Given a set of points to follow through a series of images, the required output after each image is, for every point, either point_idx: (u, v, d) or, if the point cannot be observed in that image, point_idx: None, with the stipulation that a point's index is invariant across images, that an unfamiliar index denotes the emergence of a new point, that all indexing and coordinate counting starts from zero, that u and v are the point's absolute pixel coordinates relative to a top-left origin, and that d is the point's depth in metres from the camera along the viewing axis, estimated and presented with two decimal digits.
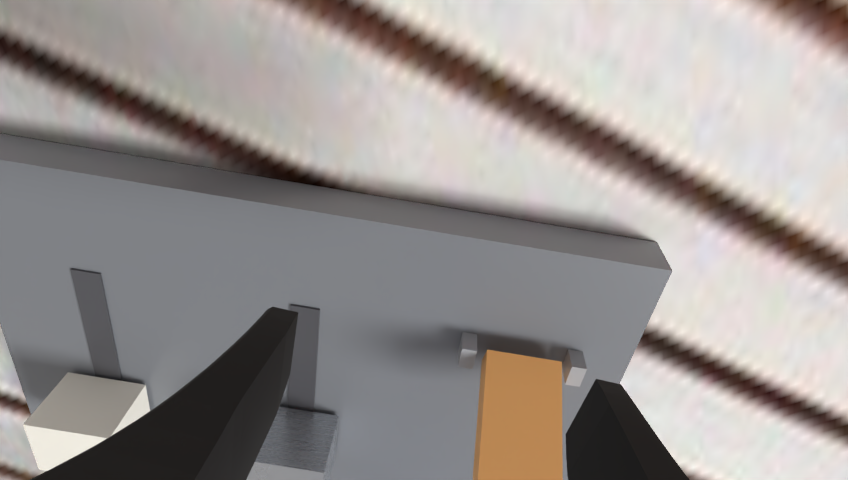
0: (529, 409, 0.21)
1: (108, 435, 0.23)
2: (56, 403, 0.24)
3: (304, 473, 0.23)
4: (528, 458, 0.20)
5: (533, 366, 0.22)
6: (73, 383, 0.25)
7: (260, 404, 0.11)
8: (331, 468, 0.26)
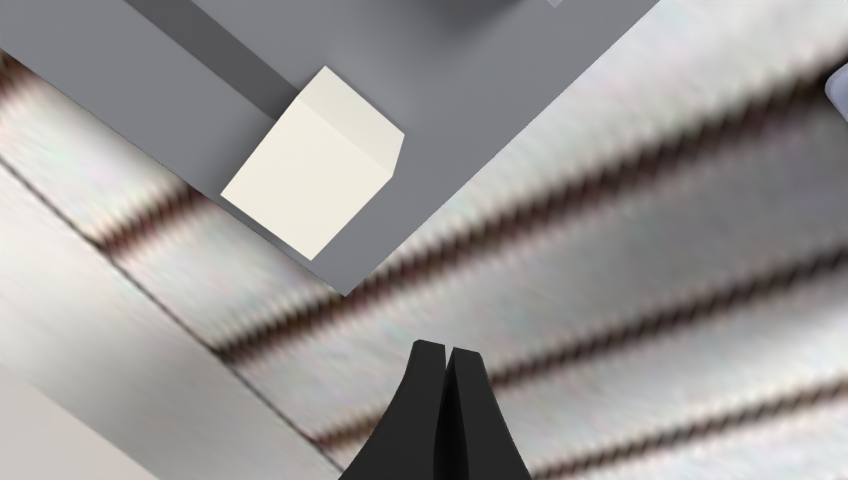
0: None
1: (295, 98, 0.13)
2: None
3: None
4: None
5: None
6: None
7: None
8: None
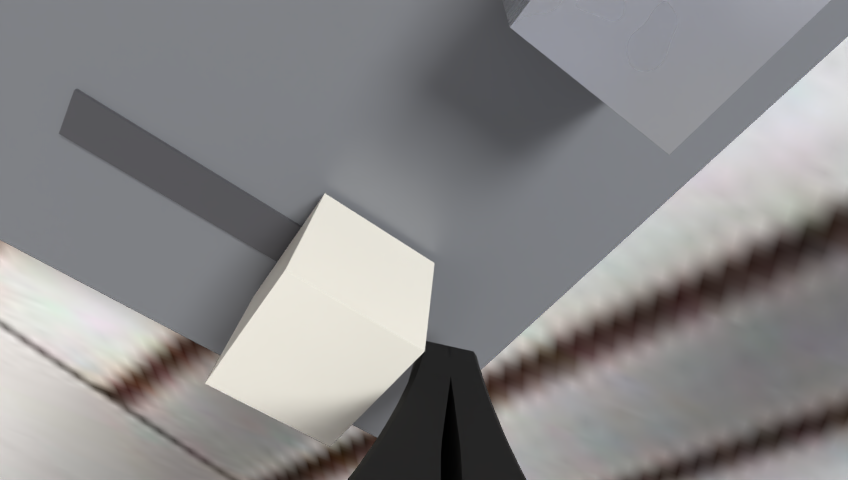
0: None
1: (284, 269, 0.10)
2: (239, 326, 0.12)
3: None
4: None
5: None
6: (257, 293, 0.13)
7: None
8: None
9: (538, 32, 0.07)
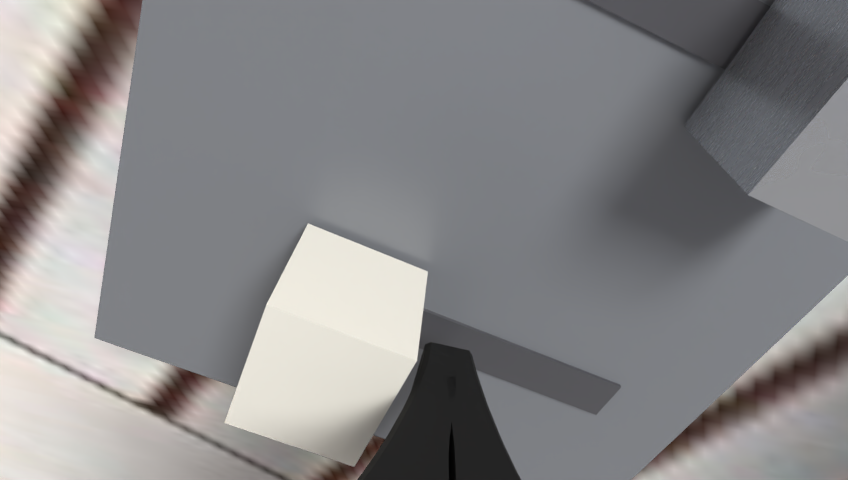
0: None
1: (267, 304, 0.10)
2: None
3: None
4: None
5: None
6: None
7: None
8: None
9: (775, 194, 0.08)
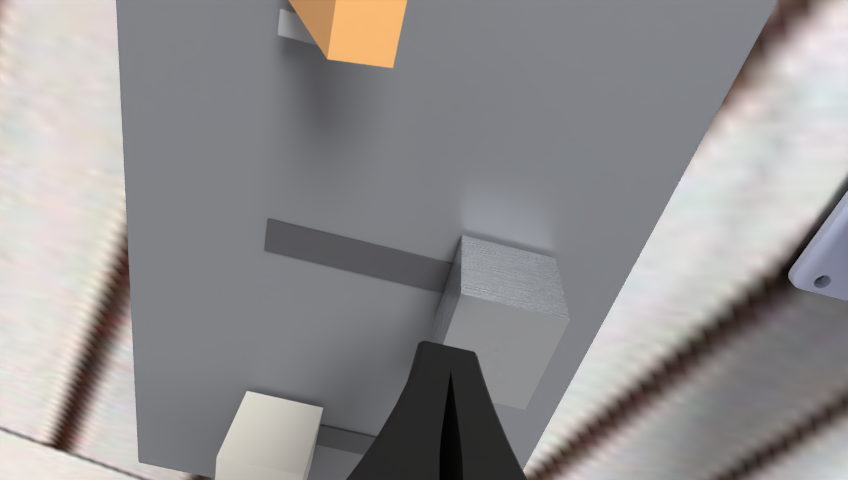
0: None
1: (217, 456, 0.19)
2: None
3: (461, 319, 0.15)
4: None
5: None
6: None
7: None
8: (550, 271, 0.17)
9: None
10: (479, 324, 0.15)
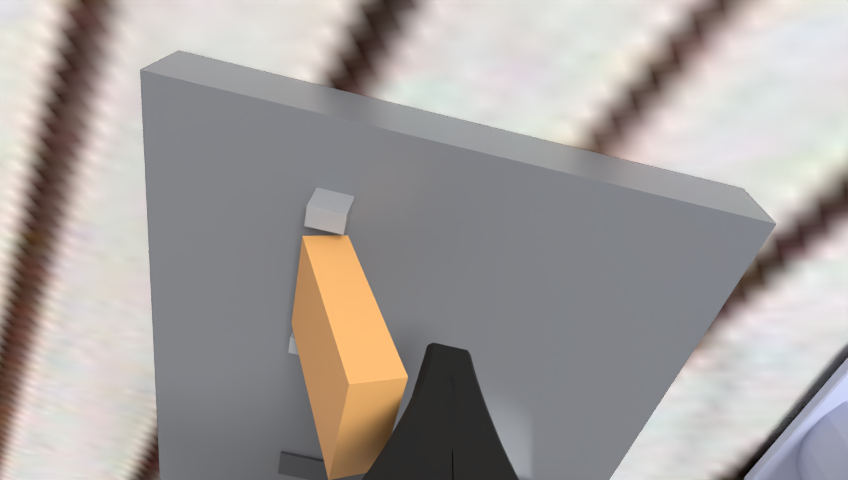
0: (312, 328, 0.13)
1: None
2: None
3: None
4: (328, 384, 0.12)
5: (300, 280, 0.14)
6: None
7: None
8: None
9: None
10: None
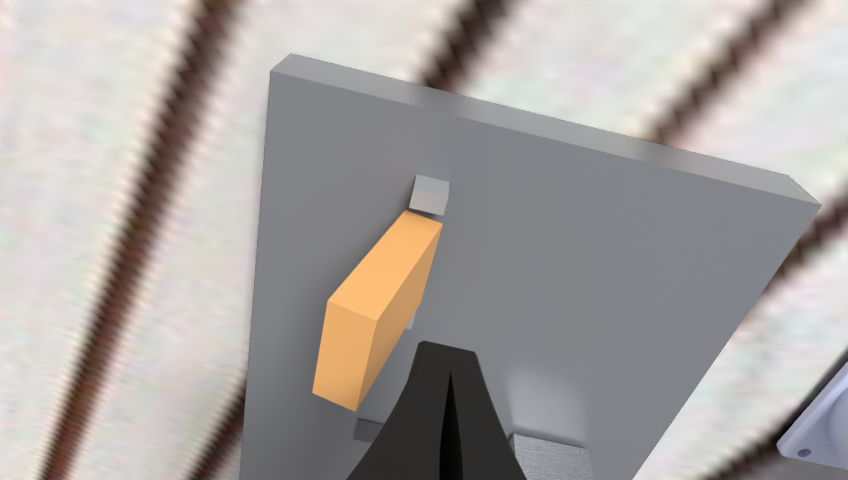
0: None
1: None
2: None
3: None
4: None
5: None
6: None
7: None
8: (585, 466, 0.21)
9: None
10: None
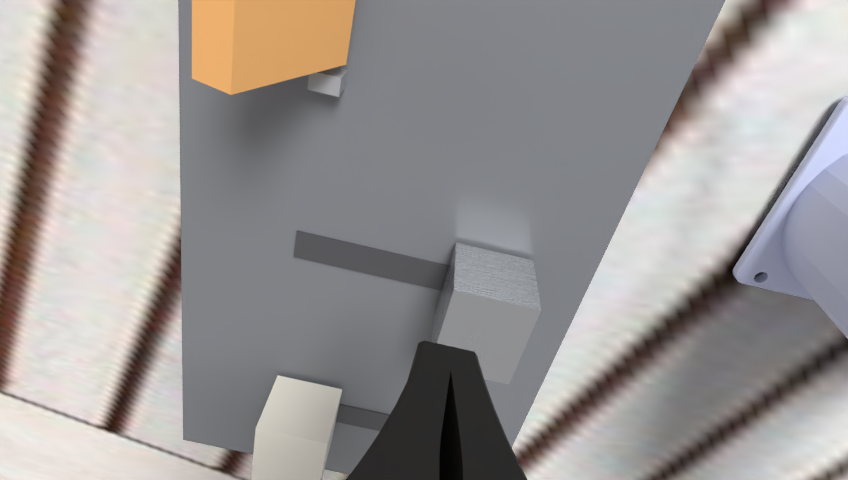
0: None
1: (256, 427, 0.23)
2: None
3: (454, 310, 0.19)
4: None
5: None
6: None
7: None
8: (528, 271, 0.20)
9: None
10: (468, 314, 0.19)
